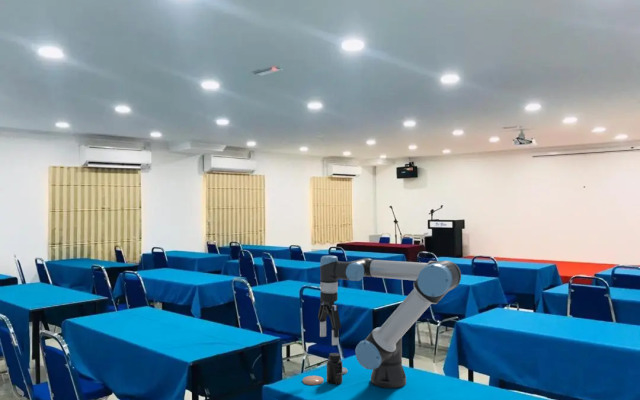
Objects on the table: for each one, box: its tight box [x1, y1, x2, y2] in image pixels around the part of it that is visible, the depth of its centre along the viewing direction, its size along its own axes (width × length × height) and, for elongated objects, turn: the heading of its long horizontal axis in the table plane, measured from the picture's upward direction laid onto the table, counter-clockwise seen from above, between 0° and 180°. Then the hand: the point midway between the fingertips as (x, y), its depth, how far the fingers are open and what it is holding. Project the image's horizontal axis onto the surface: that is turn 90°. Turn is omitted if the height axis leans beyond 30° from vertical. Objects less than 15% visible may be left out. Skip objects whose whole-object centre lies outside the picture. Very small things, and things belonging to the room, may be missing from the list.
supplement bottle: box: [326, 352, 343, 386], centre depth 211 cm, size 7×7×12 cm
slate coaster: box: [342, 366, 348, 376], centre depth 224 cm, size 9×9×1 cm
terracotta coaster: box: [302, 375, 324, 386], centre depth 212 cm, size 9×9×1 cm
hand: (329, 340), depth 212 cm, fingers open, 13 cm apart
